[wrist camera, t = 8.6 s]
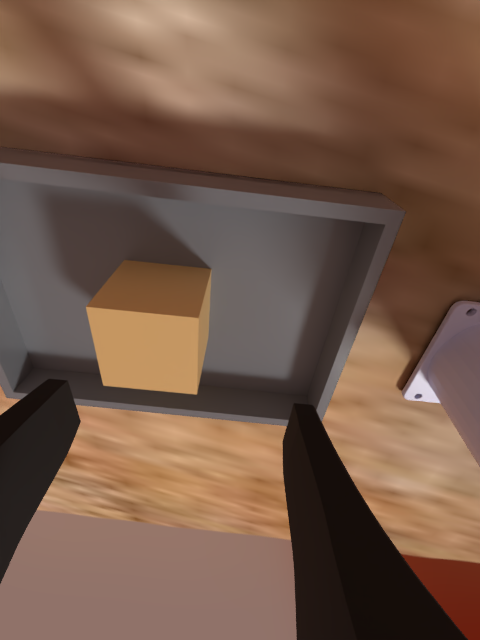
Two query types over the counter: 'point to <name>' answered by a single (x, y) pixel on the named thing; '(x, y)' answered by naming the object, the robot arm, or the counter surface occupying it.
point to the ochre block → (152, 326)
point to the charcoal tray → (193, 251)
